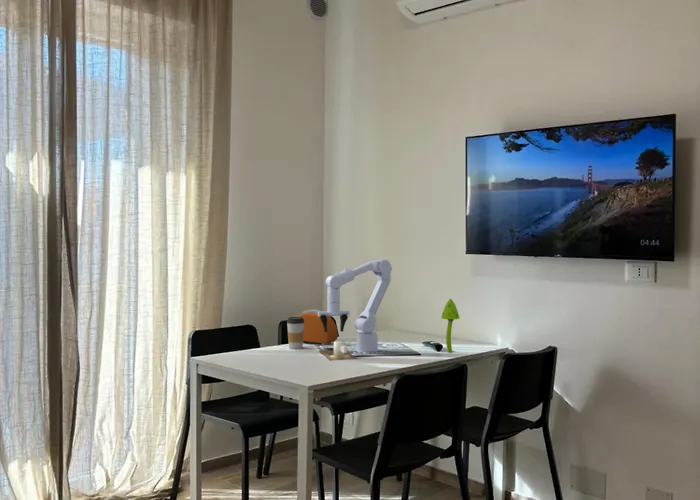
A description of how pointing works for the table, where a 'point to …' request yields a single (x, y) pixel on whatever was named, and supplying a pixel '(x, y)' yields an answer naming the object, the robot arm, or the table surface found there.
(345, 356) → the coaster
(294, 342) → the coffee cup
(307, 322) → the orange toaster
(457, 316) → the mushroom
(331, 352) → the socket
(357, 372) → the table surface
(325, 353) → the board
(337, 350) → the cream tapered cylinder
